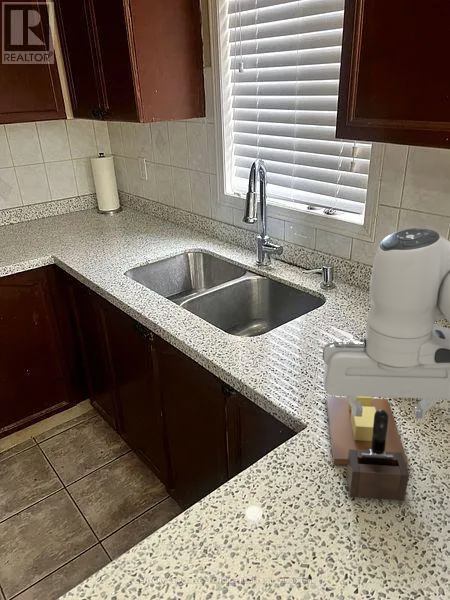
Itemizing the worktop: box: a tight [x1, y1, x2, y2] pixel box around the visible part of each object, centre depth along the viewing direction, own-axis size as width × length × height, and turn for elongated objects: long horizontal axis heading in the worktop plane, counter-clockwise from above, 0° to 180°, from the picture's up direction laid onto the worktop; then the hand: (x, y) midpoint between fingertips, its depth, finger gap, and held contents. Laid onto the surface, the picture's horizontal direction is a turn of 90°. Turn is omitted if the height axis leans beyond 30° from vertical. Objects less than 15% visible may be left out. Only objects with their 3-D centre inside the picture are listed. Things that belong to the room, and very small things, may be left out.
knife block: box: [345, 449, 410, 502], centre depth 77 cm, size 9×5×6 cm, turn 83°
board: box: [325, 395, 409, 467], centre depth 90 cm, size 13×18×2 cm
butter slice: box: [348, 396, 373, 410], centre depth 94 cm, size 4×2×4 cm, turn 83°
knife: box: [361, 410, 393, 466], centre depth 75 cm, size 5×2×16 cm, turn 83°
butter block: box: [351, 406, 376, 441], centre depth 88 cm, size 4×6×4 cm
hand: (387, 415), depth 71 cm, fingers open, 8 cm apart
